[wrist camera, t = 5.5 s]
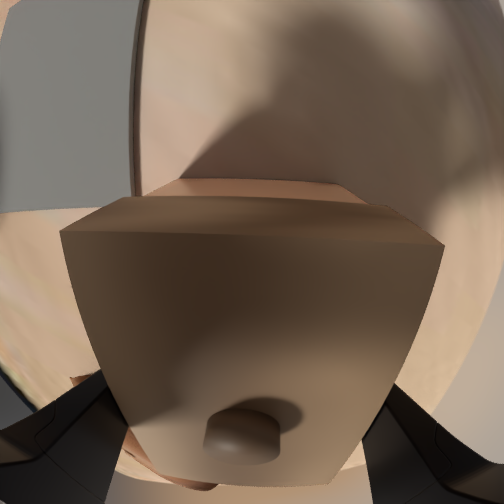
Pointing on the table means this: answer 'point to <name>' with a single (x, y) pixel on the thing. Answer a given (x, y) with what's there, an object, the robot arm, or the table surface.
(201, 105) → the table surface
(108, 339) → the lid
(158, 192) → the wooden box
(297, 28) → the table surface
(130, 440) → the sunglasses case
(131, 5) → the mat
